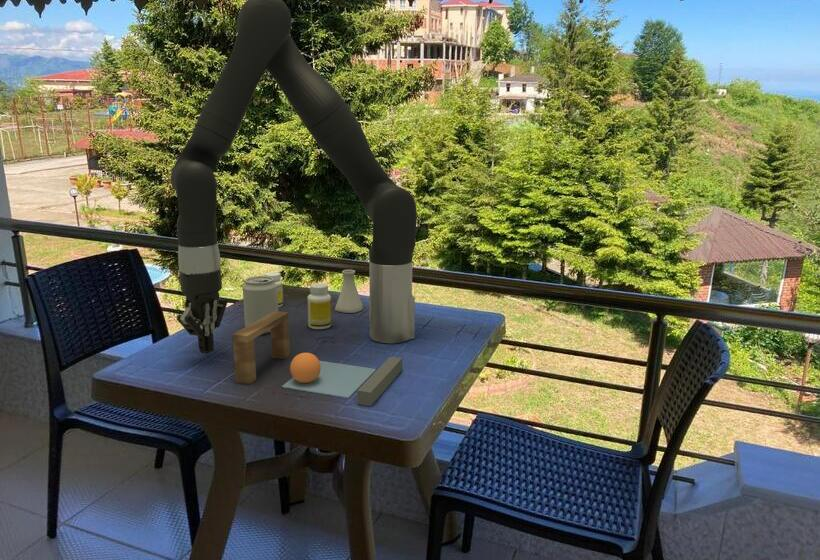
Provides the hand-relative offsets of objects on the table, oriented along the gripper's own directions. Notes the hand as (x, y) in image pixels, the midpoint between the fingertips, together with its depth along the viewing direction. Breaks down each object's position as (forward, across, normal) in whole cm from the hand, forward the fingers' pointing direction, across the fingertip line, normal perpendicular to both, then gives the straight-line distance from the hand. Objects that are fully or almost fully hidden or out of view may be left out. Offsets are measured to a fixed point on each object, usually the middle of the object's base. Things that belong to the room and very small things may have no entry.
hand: (206, 352), depth 120 cm
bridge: (+2, 0, +13) cm, 13 cm away
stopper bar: (+2, 0, +37) cm, 37 cm away
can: (+2, -19, +1) cm, 19 cm away
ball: (-1, +3, +23) cm, 24 cm away
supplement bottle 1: (+2, -36, -6) cm, 37 cm away
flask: (+2, -40, +13) cm, 42 cm away
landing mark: (+2, 0, +27) cm, 27 cm away
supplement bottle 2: (+2, -26, +12) cm, 28 cm away
